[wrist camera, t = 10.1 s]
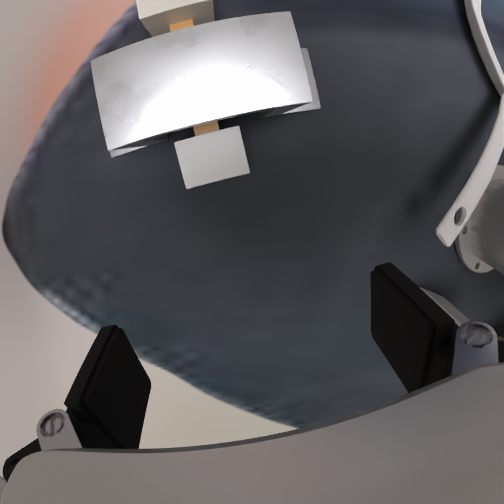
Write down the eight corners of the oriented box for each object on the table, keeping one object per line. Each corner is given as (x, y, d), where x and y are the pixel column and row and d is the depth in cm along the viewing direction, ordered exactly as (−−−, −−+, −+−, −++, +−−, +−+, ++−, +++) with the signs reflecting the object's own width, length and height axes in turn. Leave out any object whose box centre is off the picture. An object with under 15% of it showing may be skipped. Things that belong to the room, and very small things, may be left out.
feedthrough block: (304, 50, 19) (345, 10, 11) (317, 109, 21) (367, 96, 13) (102, 98, 19) (43, 84, 11) (115, 156, 21) (60, 170, 13)
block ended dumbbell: (202, -18, 16) (198, -53, 11) (248, 165, 22) (255, 173, 17) (148, -4, 16) (130, -34, 11) (190, 180, 22) (180, 192, 17)
